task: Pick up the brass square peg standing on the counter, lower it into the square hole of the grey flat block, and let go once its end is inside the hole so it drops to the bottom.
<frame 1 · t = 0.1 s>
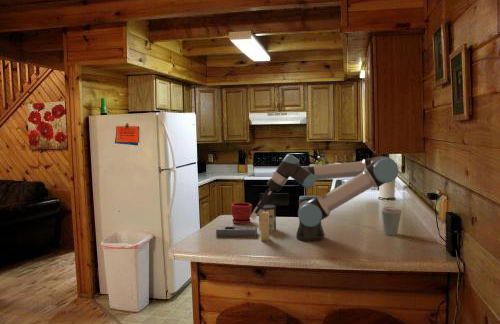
hand: (253, 215, 219), 15 cm above the worktop, tool tilted 35°, fingers open, 13 cm apart
disposable coffee cup: (391, 234, 233), on the worktop
brass peg: (265, 239, 227), on the worktop
coffee can: (267, 230, 249), on the worktop
grey flat block: (236, 235, 239), on the worktop
plant pot: (242, 222, 269), on the worktop
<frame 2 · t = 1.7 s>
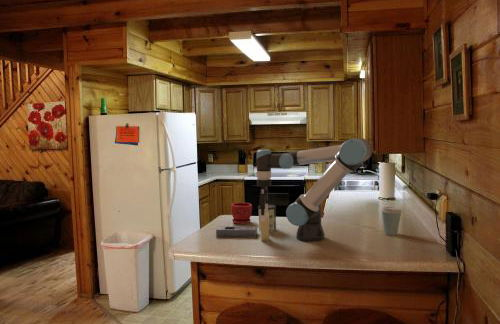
hand: (264, 218, 226), 12 cm above the worktop, tool pointing down, fingers open, 13 cm apart
nothing on the worktop moved.
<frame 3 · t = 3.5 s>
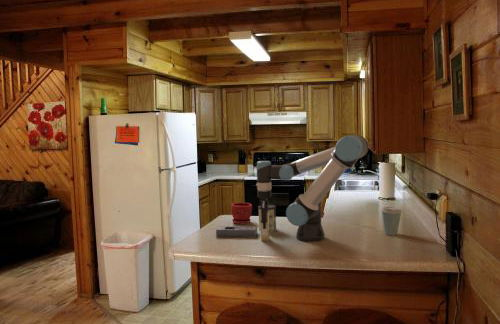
hand: (265, 233, 227), 4 cm above the worktop, tool pointing down, fingers closed on brass peg, 4 cm apart
brass peg: (265, 239, 227), on the worktop, touching gripper
everything else where it was.
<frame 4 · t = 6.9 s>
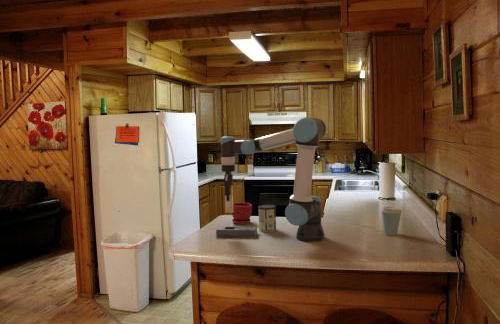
hand: (229, 205, 238), 17 cm above the worktop, tool pointing down, fingers closed on brass peg, 4 cm apart
brass peg: (229, 212, 238), point 13 cm above the worktop, touching gripper
everything else where it was.
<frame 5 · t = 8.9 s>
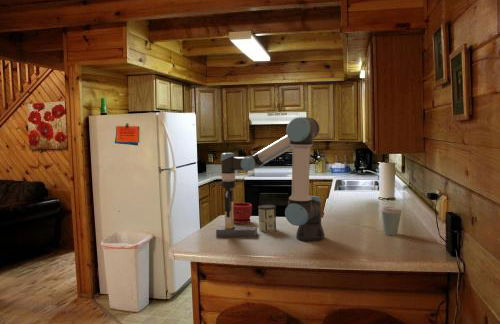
hand: (229, 221, 239), 8 cm above the worktop, tool pointing down, fingers closed on brass peg, 4 cm apart
brass peg: (229, 227, 239), point 4 cm above the worktop, touching gripper
everything else where it was.
when the fingers open (6 cm above the worktop, at t = 10.4 s): brass peg drops 2 cm, resting in grey flat block.
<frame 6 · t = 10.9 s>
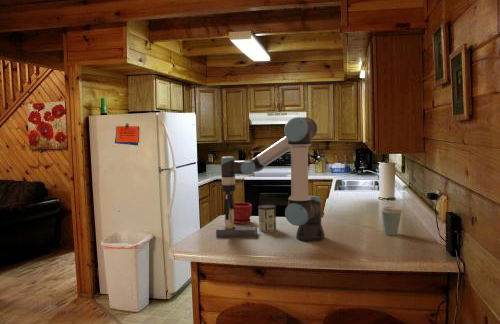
hand: (229, 222, 239), 7 cm above the worktop, tool pointing down, fingers open, 11 cm apart
brass peg: (230, 235, 239), resting in grey flat block
everything else where it was.
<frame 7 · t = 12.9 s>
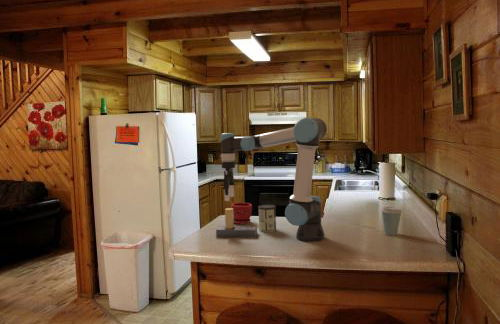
hand: (229, 198, 237), 21 cm above the worktop, tool pointing down, fingers open, 13 cm apart
nothing on the worktop moved.
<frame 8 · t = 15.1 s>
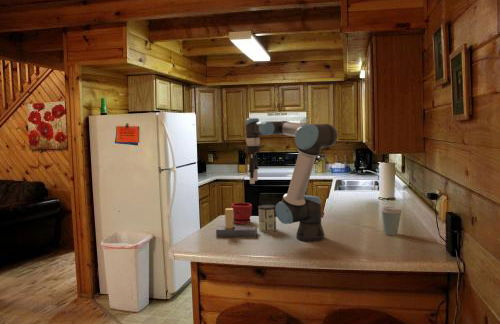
hand: (253, 182, 245), 29 cm above the worktop, tool pointing down, fingers open, 13 cm apart
nothing on the worktop moved.
at the end: brass peg 0.0 cm from the target spot on the grey flat block, point 0.0 cm above the grey flat block's base; brass peg tilted 0°; the gripper is holding nothing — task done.
